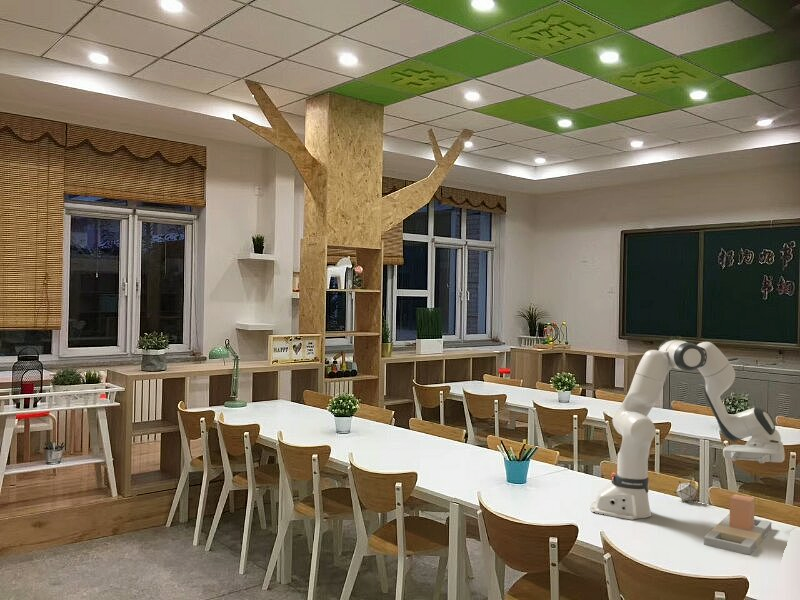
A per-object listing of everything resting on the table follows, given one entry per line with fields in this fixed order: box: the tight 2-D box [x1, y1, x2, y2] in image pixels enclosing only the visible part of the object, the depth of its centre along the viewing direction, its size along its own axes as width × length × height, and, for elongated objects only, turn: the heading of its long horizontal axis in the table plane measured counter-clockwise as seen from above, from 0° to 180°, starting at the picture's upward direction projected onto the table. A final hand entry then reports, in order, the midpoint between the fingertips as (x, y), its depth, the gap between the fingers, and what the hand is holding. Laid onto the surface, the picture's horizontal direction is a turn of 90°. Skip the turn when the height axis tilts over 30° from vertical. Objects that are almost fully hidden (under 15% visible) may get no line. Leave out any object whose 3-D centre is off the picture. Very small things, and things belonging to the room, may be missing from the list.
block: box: [729, 494, 755, 531], centre depth 238 cm, size 6×6×10 cm
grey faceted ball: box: [673, 480, 700, 503], centre depth 276 cm, size 9×8×10 cm
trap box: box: [703, 513, 772, 556], centre depth 235 cm, size 34×14×2 cm, turn 141°
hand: (746, 459), depth 245 cm, fingers open, 8 cm apart
